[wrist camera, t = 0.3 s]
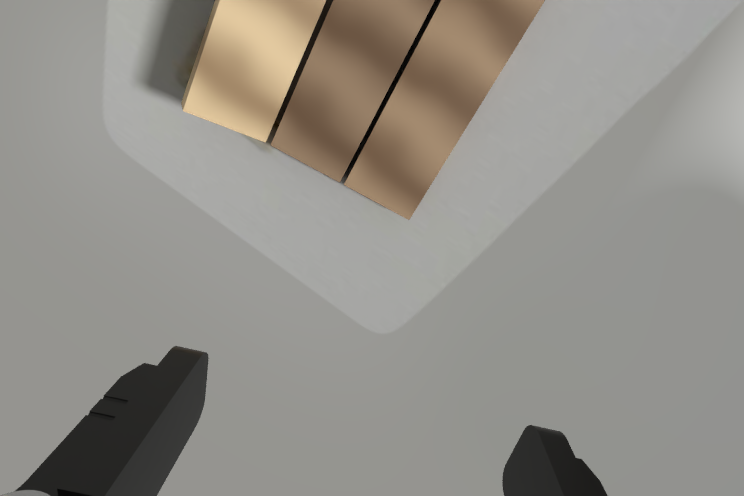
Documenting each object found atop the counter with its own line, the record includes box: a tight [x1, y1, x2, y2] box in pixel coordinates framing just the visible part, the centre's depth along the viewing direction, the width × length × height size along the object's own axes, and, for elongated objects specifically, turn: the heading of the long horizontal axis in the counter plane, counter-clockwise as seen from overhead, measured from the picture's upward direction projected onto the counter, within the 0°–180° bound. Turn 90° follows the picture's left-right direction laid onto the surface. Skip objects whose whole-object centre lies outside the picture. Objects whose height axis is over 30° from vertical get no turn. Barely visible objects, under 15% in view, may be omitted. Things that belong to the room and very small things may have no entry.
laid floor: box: [271, 0, 545, 220], centre depth 31 cm, size 22×13×2 cm, turn 151°
